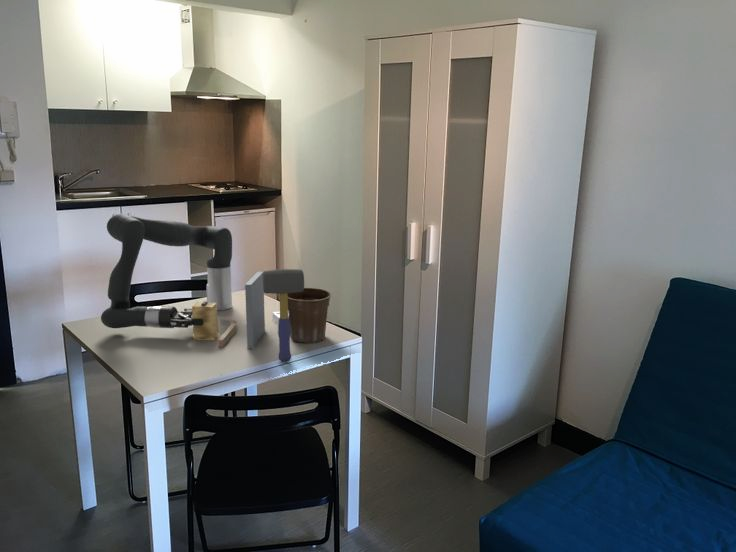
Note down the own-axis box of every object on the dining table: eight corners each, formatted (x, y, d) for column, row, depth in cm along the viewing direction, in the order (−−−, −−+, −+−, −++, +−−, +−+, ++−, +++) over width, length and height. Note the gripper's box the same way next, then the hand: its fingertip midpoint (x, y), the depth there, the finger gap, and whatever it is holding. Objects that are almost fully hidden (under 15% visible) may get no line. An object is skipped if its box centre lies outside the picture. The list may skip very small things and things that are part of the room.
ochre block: (194, 339, 209) (192, 304, 206) (198, 334, 213) (196, 300, 210) (213, 340, 208) (212, 304, 205) (218, 335, 213) (216, 300, 210)
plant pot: (340, 338, 212) (340, 294, 208) (302, 349, 201) (302, 302, 197) (313, 327, 223) (313, 285, 220) (276, 336, 213) (275, 292, 209)
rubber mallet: (266, 367, 185) (263, 273, 178) (264, 358, 192) (261, 267, 185) (306, 364, 188) (305, 271, 181) (302, 355, 195) (301, 265, 188)
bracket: (302, 328, 222) (301, 309, 221) (283, 331, 219) (283, 311, 217) (290, 318, 234) (289, 300, 232) (272, 321, 231) (272, 302, 229)
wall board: (218, 347, 202) (215, 283, 197) (232, 329, 219) (230, 271, 214) (253, 348, 201) (251, 284, 196) (264, 330, 219) (263, 271, 213)
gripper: (152, 312, 202) (199, 314, 201) (168, 301, 216) (212, 302, 215) (154, 333, 204) (201, 335, 203) (169, 320, 218) (213, 322, 217)
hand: (207, 318), depth 209 cm, fingers open, 8 cm apart
